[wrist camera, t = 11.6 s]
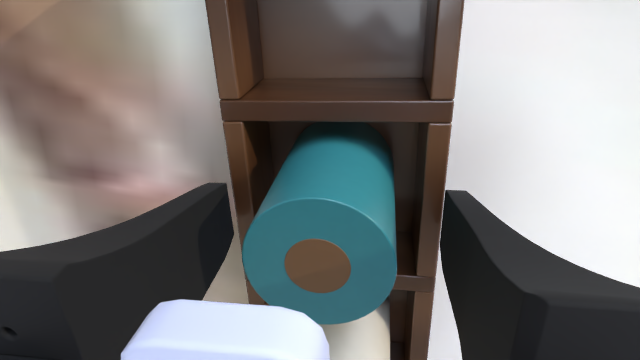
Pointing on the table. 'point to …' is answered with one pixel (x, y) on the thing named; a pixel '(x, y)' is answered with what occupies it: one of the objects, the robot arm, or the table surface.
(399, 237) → the rack
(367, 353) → the roll
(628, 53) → the table surface
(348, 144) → the paper roll
